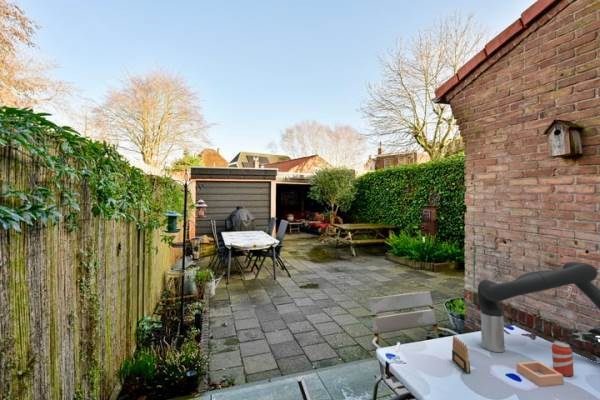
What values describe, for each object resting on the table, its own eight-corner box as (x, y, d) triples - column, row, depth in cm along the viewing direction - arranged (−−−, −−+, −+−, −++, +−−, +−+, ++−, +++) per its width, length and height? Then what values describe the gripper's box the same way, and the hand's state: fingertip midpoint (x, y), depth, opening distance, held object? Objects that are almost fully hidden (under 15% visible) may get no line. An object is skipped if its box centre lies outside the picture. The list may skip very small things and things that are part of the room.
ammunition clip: (470, 373, 119) (469, 345, 120) (466, 373, 119) (464, 345, 120) (456, 360, 130) (454, 334, 130) (452, 360, 130) (450, 334, 130)
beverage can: (553, 367, 123) (551, 339, 123) (573, 372, 118) (572, 343, 118) (552, 372, 118) (550, 344, 119) (573, 379, 114) (571, 349, 114)
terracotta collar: (540, 386, 110) (539, 377, 110) (516, 371, 120) (516, 363, 120) (563, 384, 111) (563, 375, 111) (538, 369, 121) (538, 361, 121)
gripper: (584, 321, 133) (560, 327, 129) (625, 334, 119) (601, 340, 115) (585, 337, 133) (561, 343, 128) (627, 351, 119) (602, 359, 115)
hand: (580, 342), depth 122 cm, fingers open, 8 cm apart
